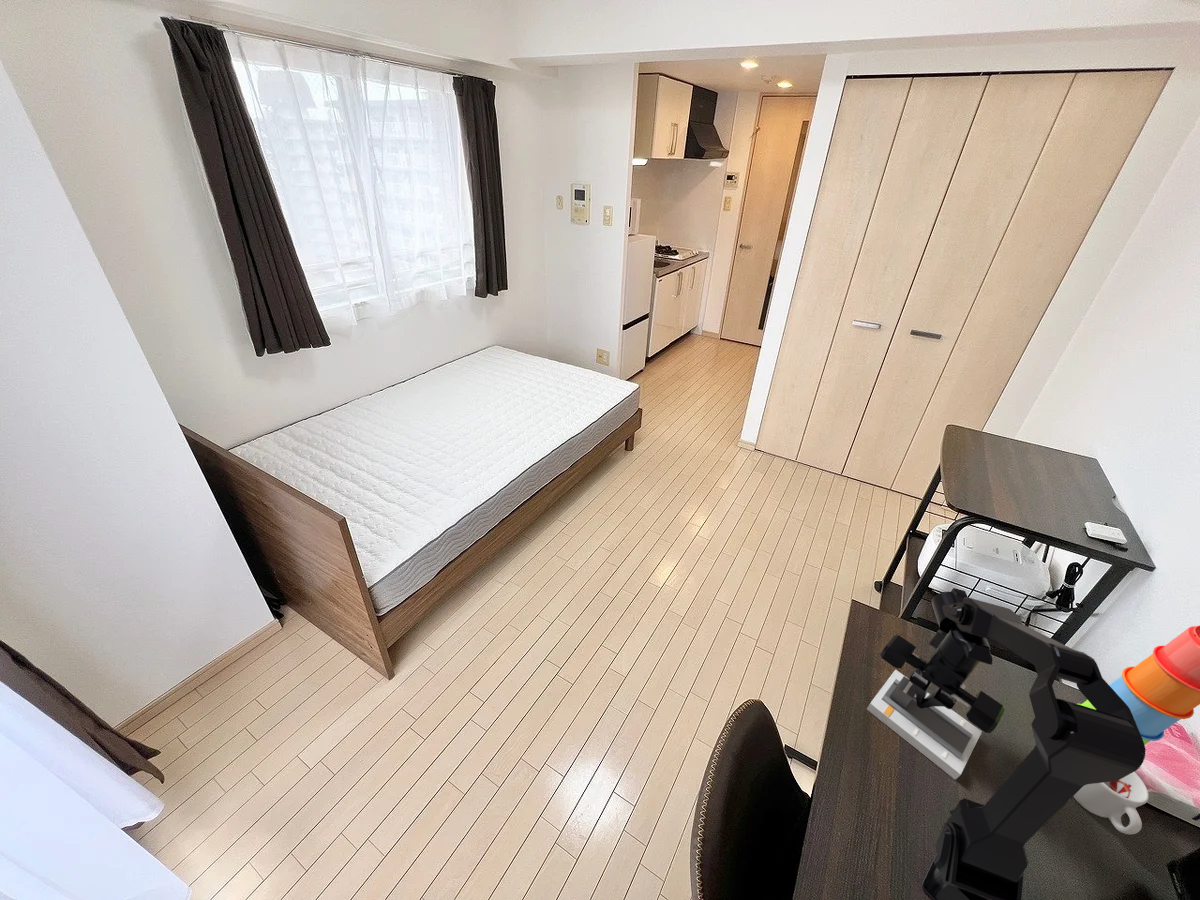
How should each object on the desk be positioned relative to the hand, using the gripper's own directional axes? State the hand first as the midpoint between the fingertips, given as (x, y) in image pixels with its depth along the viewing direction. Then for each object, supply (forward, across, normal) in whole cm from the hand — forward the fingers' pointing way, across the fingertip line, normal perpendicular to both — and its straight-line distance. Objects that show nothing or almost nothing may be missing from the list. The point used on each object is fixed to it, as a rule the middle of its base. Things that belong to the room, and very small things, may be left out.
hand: (919, 705), depth 92 cm
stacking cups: (+4, -23, -19) cm, 30 cm away
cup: (+4, -27, -9) cm, 28 cm away
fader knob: (+1, +3, 0) cm, 3 cm away
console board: (+4, -2, 0) cm, 4 cm away
